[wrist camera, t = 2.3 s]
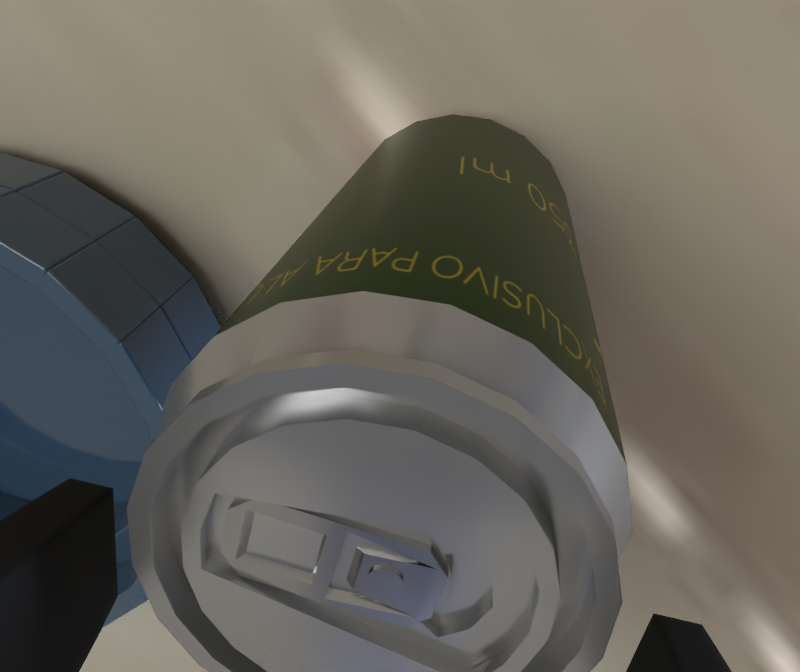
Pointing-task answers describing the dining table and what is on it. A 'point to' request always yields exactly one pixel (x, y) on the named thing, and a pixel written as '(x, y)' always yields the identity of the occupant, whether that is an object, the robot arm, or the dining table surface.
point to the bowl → (85, 343)
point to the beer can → (398, 436)
